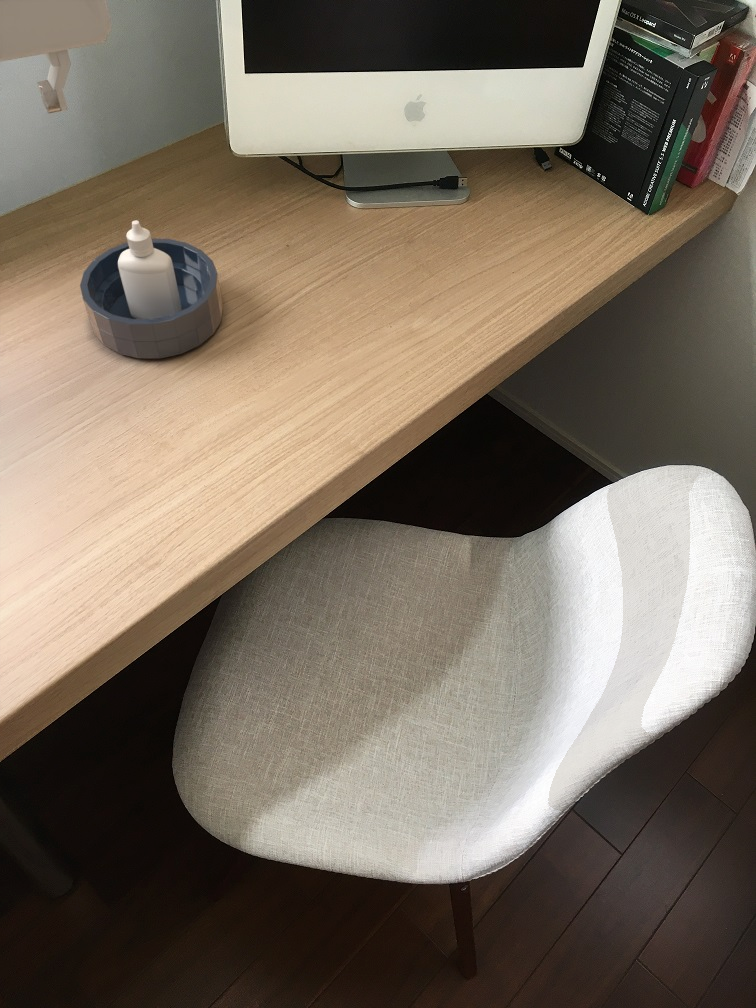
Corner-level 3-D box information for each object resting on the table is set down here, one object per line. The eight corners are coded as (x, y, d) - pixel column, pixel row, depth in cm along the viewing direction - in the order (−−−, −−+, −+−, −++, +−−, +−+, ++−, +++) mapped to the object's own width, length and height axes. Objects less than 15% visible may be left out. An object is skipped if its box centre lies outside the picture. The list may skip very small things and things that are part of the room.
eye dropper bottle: (163, 334, 88) (141, 242, 78) (125, 315, 89) (99, 223, 80) (188, 313, 90) (170, 221, 80) (151, 294, 92) (129, 202, 82)
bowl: (104, 375, 85) (91, 336, 80) (84, 291, 93) (71, 251, 88) (236, 346, 88) (231, 307, 84) (206, 267, 96) (200, 228, 92)
